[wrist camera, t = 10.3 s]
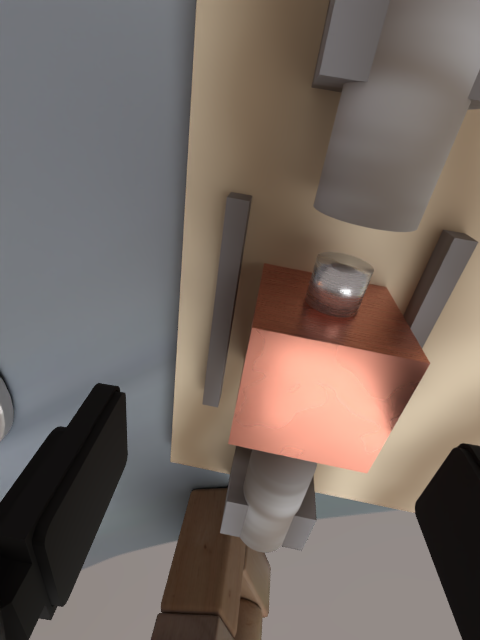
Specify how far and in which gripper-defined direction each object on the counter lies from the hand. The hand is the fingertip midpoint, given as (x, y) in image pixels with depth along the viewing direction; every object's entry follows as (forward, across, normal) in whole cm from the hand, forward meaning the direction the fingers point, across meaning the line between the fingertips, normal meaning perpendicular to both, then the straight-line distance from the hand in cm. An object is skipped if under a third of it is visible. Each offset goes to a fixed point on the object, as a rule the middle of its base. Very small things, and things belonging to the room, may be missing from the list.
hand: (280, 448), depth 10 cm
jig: (+7, -4, -1) cm, 9 cm away
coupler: (+6, -1, -1) cm, 6 cm away
